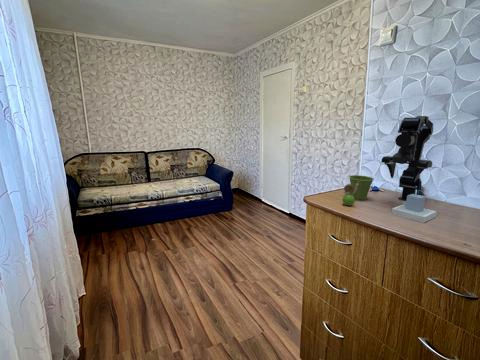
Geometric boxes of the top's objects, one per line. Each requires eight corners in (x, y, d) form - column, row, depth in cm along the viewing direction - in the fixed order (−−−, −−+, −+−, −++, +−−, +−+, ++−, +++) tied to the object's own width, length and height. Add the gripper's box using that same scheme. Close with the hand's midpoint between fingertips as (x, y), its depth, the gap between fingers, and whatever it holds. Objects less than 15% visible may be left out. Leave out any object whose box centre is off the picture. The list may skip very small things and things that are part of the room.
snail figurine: (357, 207, 114) (360, 182, 111) (343, 206, 115) (345, 181, 113) (354, 203, 119) (357, 180, 117) (340, 203, 120) (343, 179, 118)
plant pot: (344, 199, 127) (347, 178, 124) (348, 194, 137) (350, 174, 134) (370, 203, 121) (373, 181, 118) (372, 197, 130) (374, 176, 128)
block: (410, 206, 107) (412, 193, 106) (423, 210, 103) (425, 196, 102) (405, 208, 105) (407, 195, 103) (418, 212, 101) (420, 198, 99)
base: (404, 208, 113) (405, 203, 112) (435, 216, 103) (436, 211, 102) (391, 213, 106) (392, 208, 106) (423, 222, 96) (424, 216, 96)
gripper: (377, 145, 113) (373, 178, 116) (424, 148, 97) (418, 186, 101) (389, 144, 119) (385, 175, 122) (435, 147, 103) (429, 183, 107)
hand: (402, 180), depth 113 cm, fingers open, 9 cm apart
